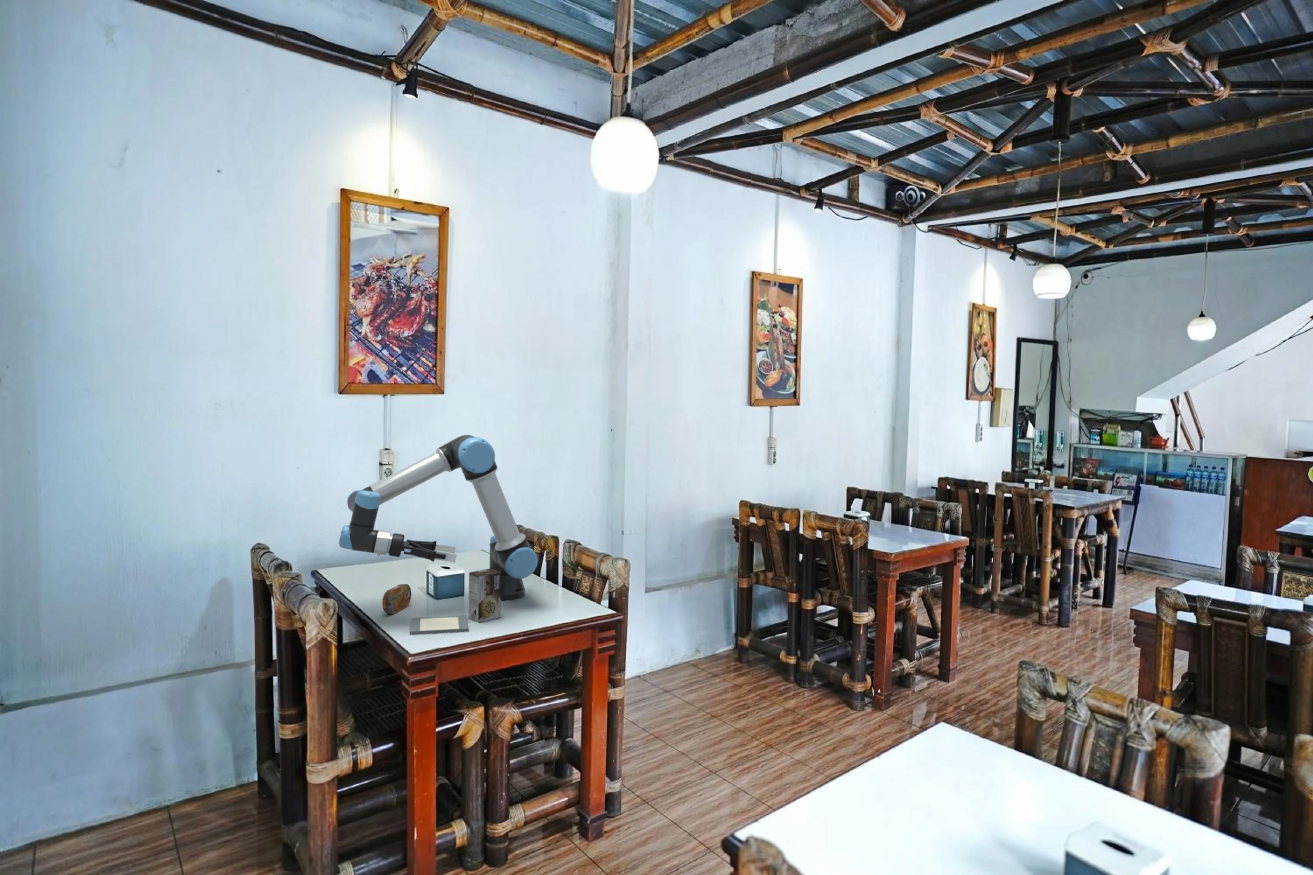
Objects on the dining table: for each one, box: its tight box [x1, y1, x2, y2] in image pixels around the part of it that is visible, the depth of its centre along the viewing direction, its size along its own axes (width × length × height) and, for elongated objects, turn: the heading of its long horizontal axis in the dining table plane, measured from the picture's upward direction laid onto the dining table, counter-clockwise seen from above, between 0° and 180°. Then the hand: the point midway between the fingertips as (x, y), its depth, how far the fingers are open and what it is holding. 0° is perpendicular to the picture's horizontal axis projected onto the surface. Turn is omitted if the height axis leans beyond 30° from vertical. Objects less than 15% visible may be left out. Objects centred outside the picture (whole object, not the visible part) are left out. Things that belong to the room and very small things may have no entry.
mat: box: [409, 614, 470, 636], centre depth 244 cm, size 18×14×1 cm
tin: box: [382, 583, 412, 615], centre depth 259 cm, size 15×3×8 cm, turn 168°
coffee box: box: [467, 567, 502, 624], centre depth 254 cm, size 9×6×16 cm
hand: (455, 554), depth 252 cm, fingers open, 13 cm apart
